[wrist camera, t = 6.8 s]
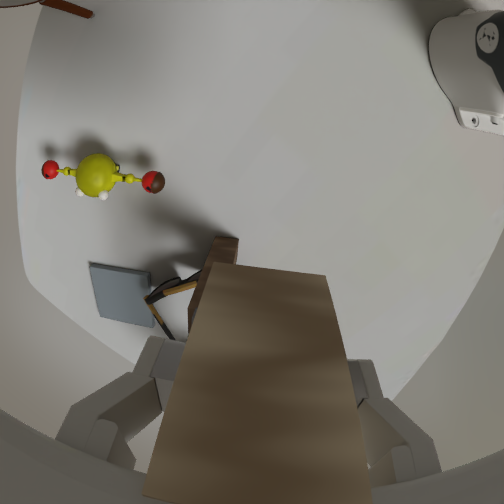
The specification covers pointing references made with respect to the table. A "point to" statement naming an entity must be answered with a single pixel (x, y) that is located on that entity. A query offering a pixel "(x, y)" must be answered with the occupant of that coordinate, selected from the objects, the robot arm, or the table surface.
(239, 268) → the block
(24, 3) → the magnifying glass
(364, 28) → the table surface
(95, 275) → the pad
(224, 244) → the rod stand
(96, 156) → the toy figure
